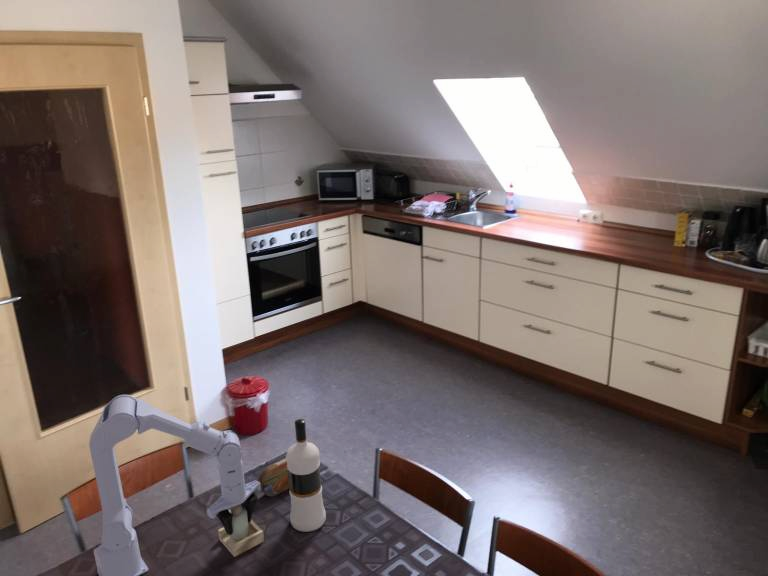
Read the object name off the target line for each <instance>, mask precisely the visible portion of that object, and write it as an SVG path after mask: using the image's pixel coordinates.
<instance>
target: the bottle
mask: <svg viewBox="0 0 768 576" xmlns="http://www.w3.org/2000/svg"><path fill="white" fill-rule="evenodd" d="M228 510H229V512H230V513H231V514H233V517H232V528H233V534H231V535H229V537H230V538H231V539H233V540H241V539H243V538H245V537H247V536H248V534H249V525H248V517H247V510H246V509H245V508H244V507H241V504H240V505H237V506H234V507H231V508H229V509H228Z"/></svg>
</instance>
